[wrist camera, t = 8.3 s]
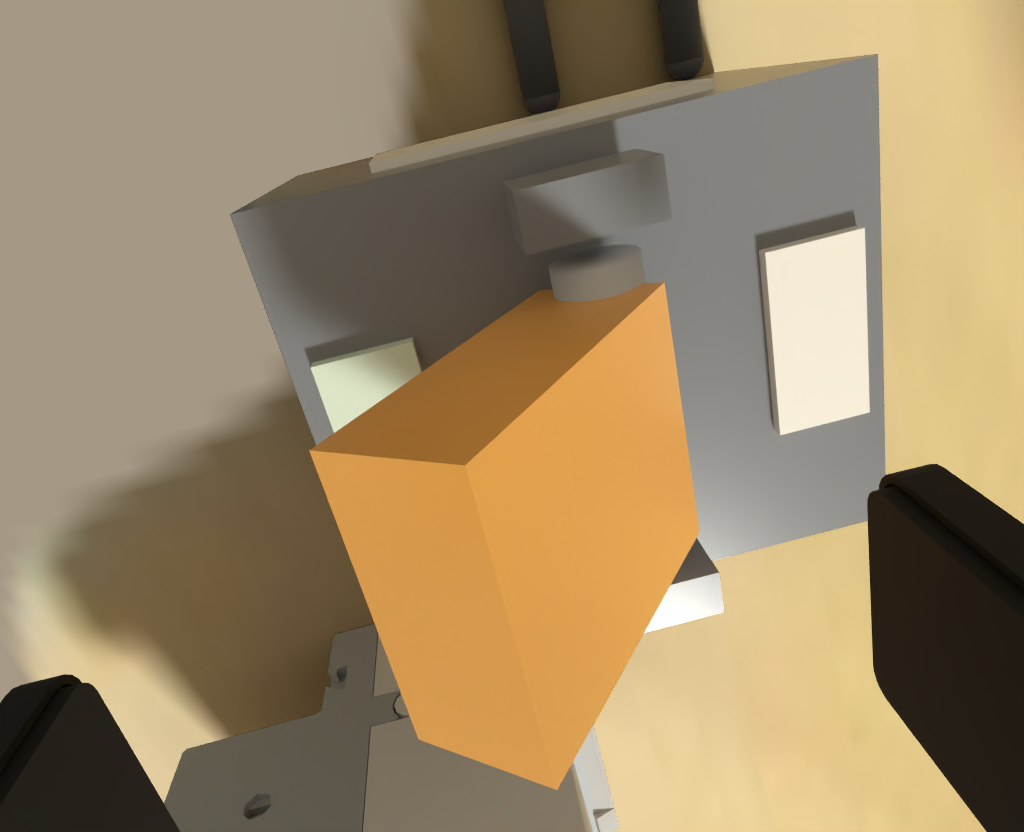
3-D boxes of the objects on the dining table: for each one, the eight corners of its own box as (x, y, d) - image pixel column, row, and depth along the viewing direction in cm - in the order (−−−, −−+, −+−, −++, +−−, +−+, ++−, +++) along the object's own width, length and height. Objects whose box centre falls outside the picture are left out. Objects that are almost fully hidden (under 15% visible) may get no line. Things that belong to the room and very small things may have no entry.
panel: (714, 64, 21) (964, 29, 11) (747, 394, 25) (951, 572, 15) (295, 168, 20) (188, 221, 11) (398, 483, 24) (386, 720, 15)
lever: (676, 239, 13) (453, 422, 8) (715, 530, 15) (564, 815, 10) (554, 250, 14) (295, 414, 9) (607, 515, 16) (427, 762, 11)
